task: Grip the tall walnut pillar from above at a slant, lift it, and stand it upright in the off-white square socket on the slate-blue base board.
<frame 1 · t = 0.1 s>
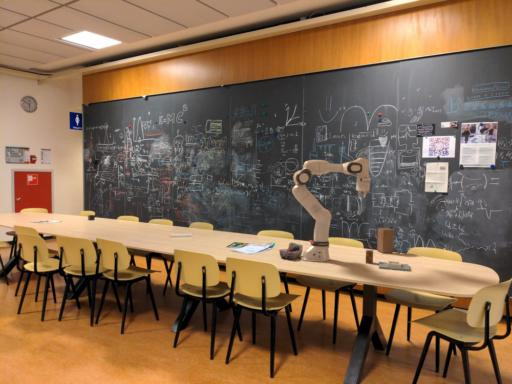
hand: (362, 197, 289), 48 cm above the table, tool pointing down, fingers open, 8 cm apart
pillar: (369, 262, 281), on the table
block: (385, 252, 321), on the table
cell model: (290, 257, 293), on the table
board: (393, 267, 268), on the table
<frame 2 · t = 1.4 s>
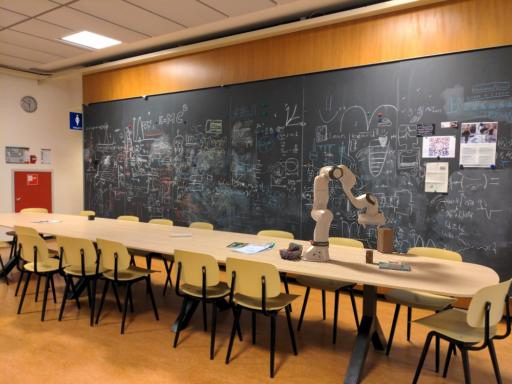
hand: (371, 228, 291), 24 cm above the table, tool tilted 45°, fingers open, 8 cm apart
nothing on the table moved.
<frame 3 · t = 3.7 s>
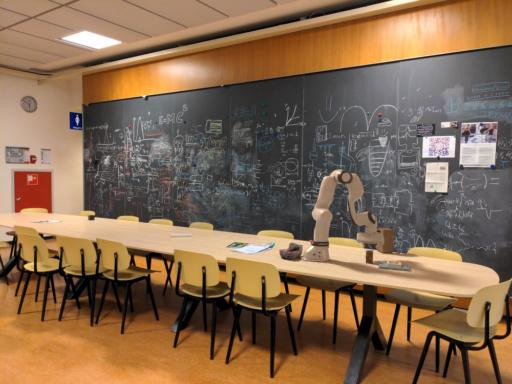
hand: (370, 247, 286), 10 cm above the table, tool tilted 45°, fingers open, 8 cm apart
nothing on the table moved.
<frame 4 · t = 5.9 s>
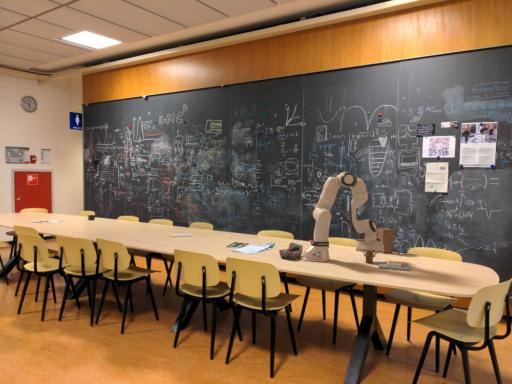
hand: (369, 256, 280), 5 cm above the table, tool tilted 45°, fingers closed on pillar, 5 cm apart
pillar: (369, 262, 281), on the table, touching gripper
everything else where it was.
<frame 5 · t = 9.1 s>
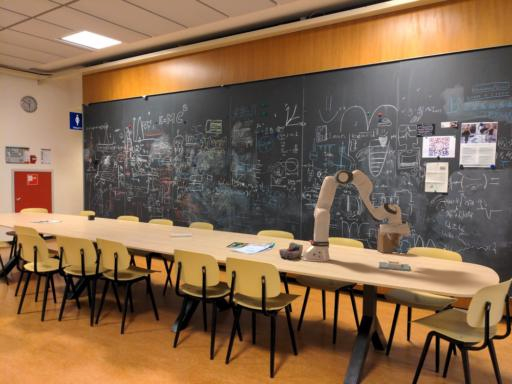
hand: (394, 239, 267), 20 cm above the table, tool tilted 45°, fingers closed on pillar, 5 cm apart
pillar: (394, 246, 268), point 15 cm above the table, touching gripper
everything else where it was.
when the fingers open (7 cm above the table, at t = 12.4 s): pillar drops 1 cm, resting on board.
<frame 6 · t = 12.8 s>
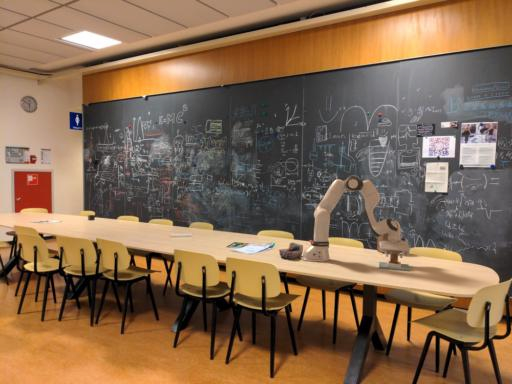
hand: (394, 256, 267), 7 cm above the table, tool tilted 45°, fingers open, 8 cm apart
pillar: (393, 265, 268), point 1 cm above the table, touching board
everything else where it was.
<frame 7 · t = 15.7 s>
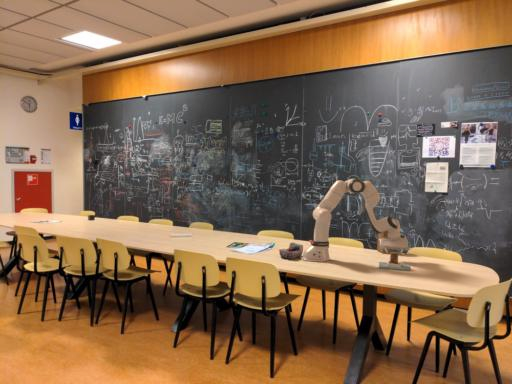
hand: (393, 253, 280), 8 cm above the table, tool tilted 45°, fingers open, 8 cm apart
nothing on the table moved.
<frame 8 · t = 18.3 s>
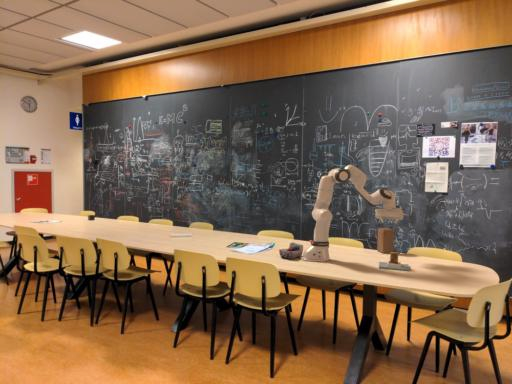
hand: (389, 222, 285), 29 cm above the table, tool tilted 45°, fingers open, 8 cm apart
at the end: pillar 0.1 cm off-centre on the board, point 1.2 cm above the board's base; pillar tilted 0°; the gripper is holding nothing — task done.
